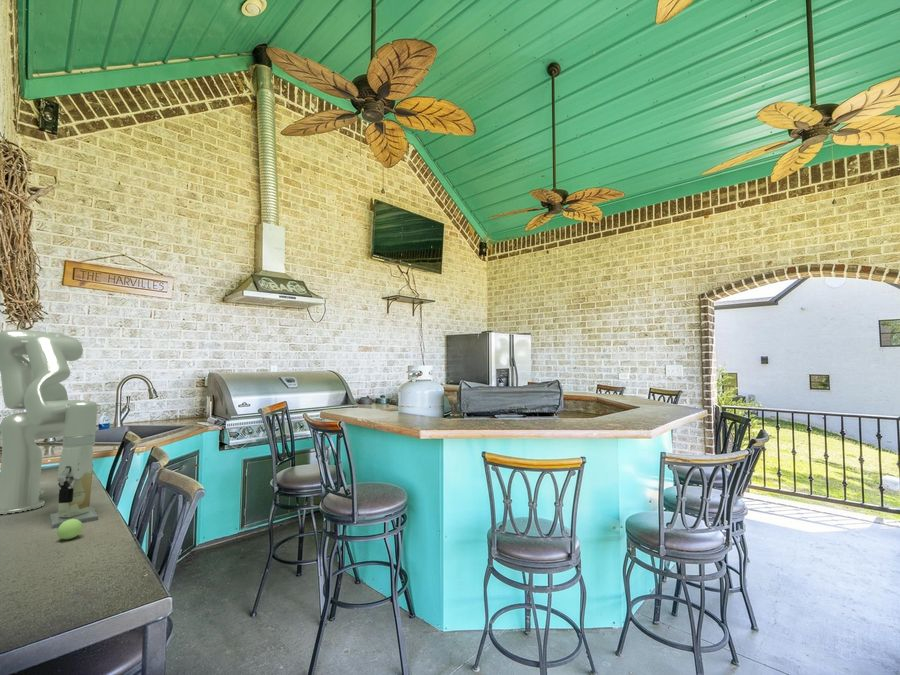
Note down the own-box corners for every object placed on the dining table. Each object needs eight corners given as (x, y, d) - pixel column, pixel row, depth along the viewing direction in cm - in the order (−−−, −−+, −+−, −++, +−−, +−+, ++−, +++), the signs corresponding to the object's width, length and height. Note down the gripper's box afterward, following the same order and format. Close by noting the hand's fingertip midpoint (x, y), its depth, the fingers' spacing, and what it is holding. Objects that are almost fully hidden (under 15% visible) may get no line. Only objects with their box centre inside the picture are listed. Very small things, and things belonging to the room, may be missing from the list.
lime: (63, 536, 113) (64, 517, 113) (85, 534, 114) (86, 515, 115) (52, 543, 108) (53, 523, 109) (75, 541, 110) (77, 521, 110)
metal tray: (49, 517, 129) (50, 513, 129) (92, 509, 136) (92, 506, 136) (52, 528, 119) (52, 524, 119) (97, 519, 126) (98, 515, 127)
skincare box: (68, 518, 125) (71, 476, 126) (56, 517, 125) (60, 475, 127) (90, 511, 131) (93, 471, 132) (79, 510, 132) (82, 471, 133)
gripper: (79, 438, 137) (74, 491, 135) (47, 446, 121) (41, 507, 119) (106, 437, 139) (102, 489, 138) (78, 445, 123) (74, 505, 121)
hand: (74, 497), depth 128 cm, fingers open, 9 cm apart
